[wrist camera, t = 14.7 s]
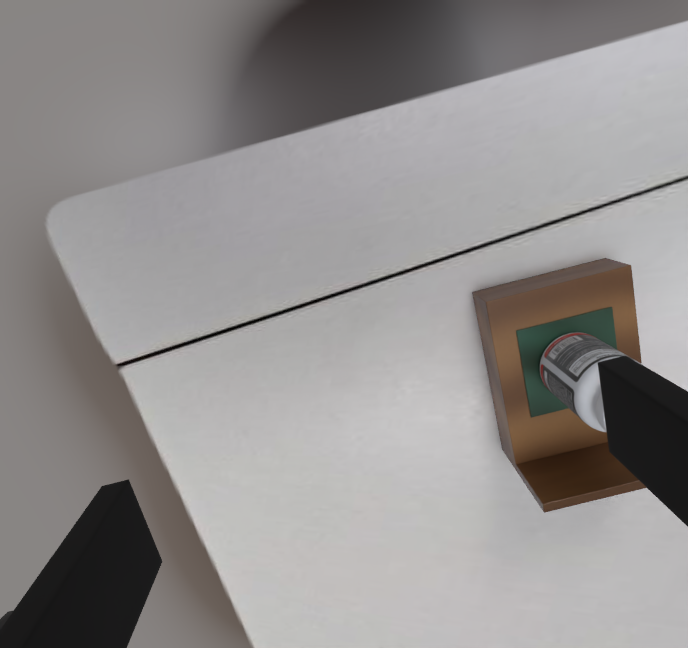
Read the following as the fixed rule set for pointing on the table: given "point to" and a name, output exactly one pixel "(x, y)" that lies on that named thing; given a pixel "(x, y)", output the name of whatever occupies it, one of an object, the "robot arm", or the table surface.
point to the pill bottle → (578, 374)
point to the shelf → (529, 390)
